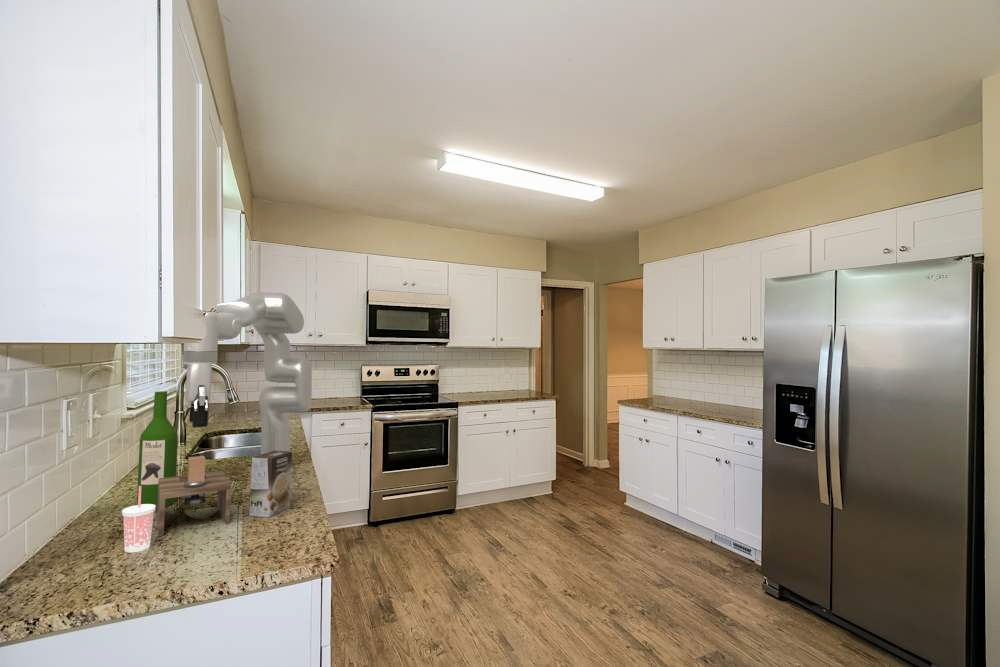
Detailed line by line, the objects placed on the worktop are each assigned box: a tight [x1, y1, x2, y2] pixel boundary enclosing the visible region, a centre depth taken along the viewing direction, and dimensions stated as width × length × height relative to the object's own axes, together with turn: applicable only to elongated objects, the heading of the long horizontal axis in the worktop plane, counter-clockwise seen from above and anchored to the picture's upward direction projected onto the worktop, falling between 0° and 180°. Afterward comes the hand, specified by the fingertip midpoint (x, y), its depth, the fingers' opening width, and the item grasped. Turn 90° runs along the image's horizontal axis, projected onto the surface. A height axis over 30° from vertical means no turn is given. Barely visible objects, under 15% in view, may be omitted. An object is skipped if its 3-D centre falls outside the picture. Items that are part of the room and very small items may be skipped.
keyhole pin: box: [183, 455, 207, 506], centre depth 123 cm, size 5×5×12 cm
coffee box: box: [248, 450, 293, 519], centre depth 133 cm, size 9×6×16 cm
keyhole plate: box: [156, 470, 232, 537], centre depth 125 cm, size 17×15×10 cm
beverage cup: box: [121, 486, 156, 553], centre depth 107 cm, size 6×6×14 cm
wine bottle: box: [136, 391, 179, 510], centre depth 137 cm, size 9×9×32 cm
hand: (198, 424), depth 123 cm, fingers open, 9 cm apart
